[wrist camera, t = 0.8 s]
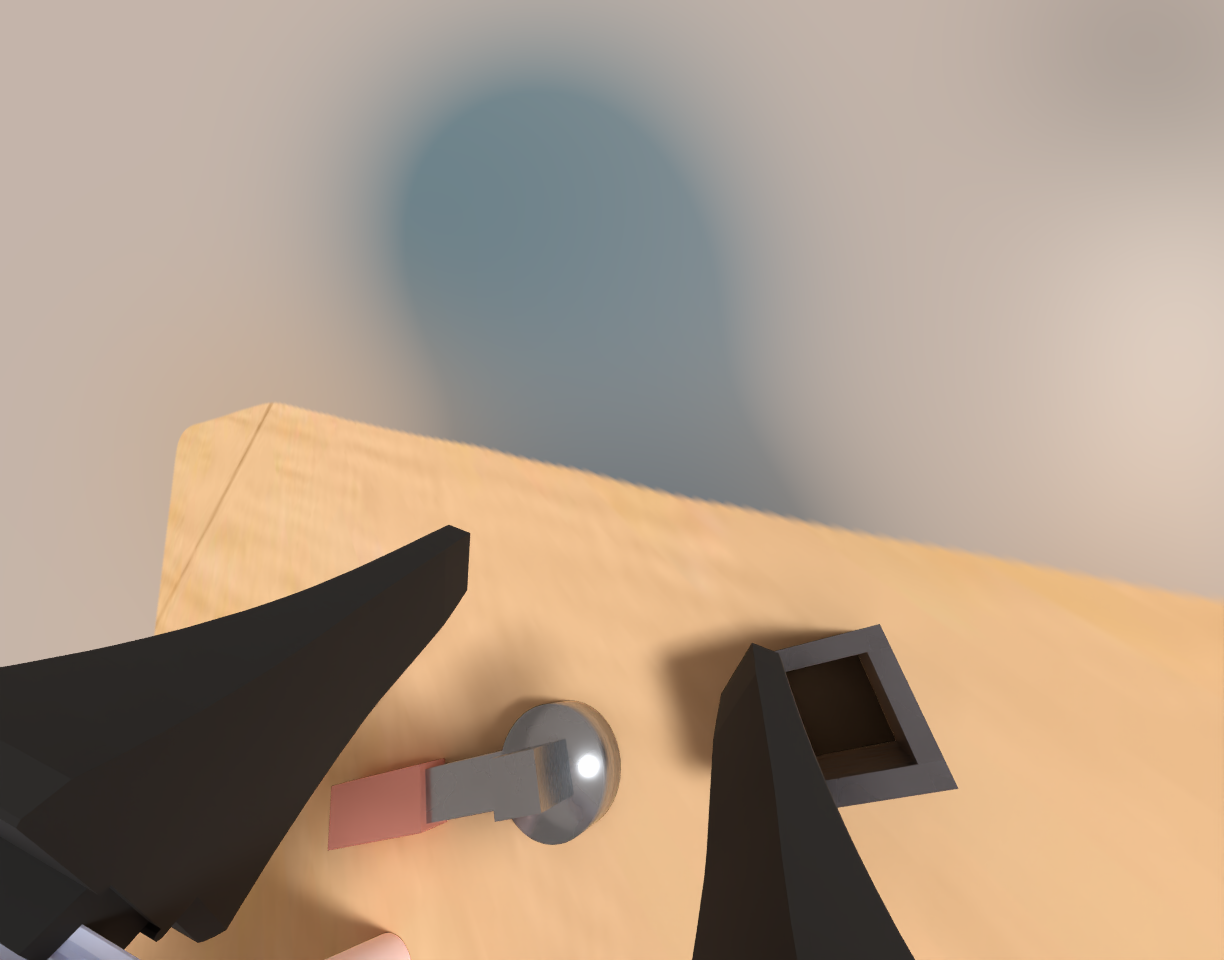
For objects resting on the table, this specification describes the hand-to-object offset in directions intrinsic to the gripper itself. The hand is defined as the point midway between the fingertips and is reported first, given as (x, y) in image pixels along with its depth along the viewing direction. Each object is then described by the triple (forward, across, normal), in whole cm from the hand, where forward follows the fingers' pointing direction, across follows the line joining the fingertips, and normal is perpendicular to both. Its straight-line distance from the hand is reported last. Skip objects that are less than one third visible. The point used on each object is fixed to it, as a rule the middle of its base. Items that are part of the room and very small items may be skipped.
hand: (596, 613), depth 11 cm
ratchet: (+4, +4, +21) cm, 22 cm away
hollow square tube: (+8, -11, +9) cm, 16 cm away
